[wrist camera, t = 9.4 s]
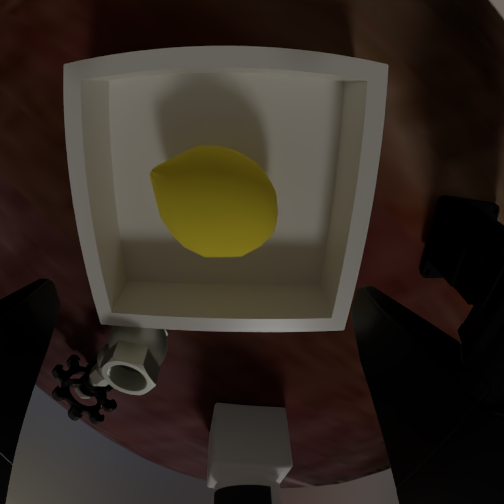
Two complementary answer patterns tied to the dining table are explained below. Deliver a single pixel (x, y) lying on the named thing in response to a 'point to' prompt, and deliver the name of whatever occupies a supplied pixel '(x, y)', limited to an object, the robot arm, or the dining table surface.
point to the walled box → (247, 143)
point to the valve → (113, 370)
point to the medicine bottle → (248, 453)
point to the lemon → (215, 201)
